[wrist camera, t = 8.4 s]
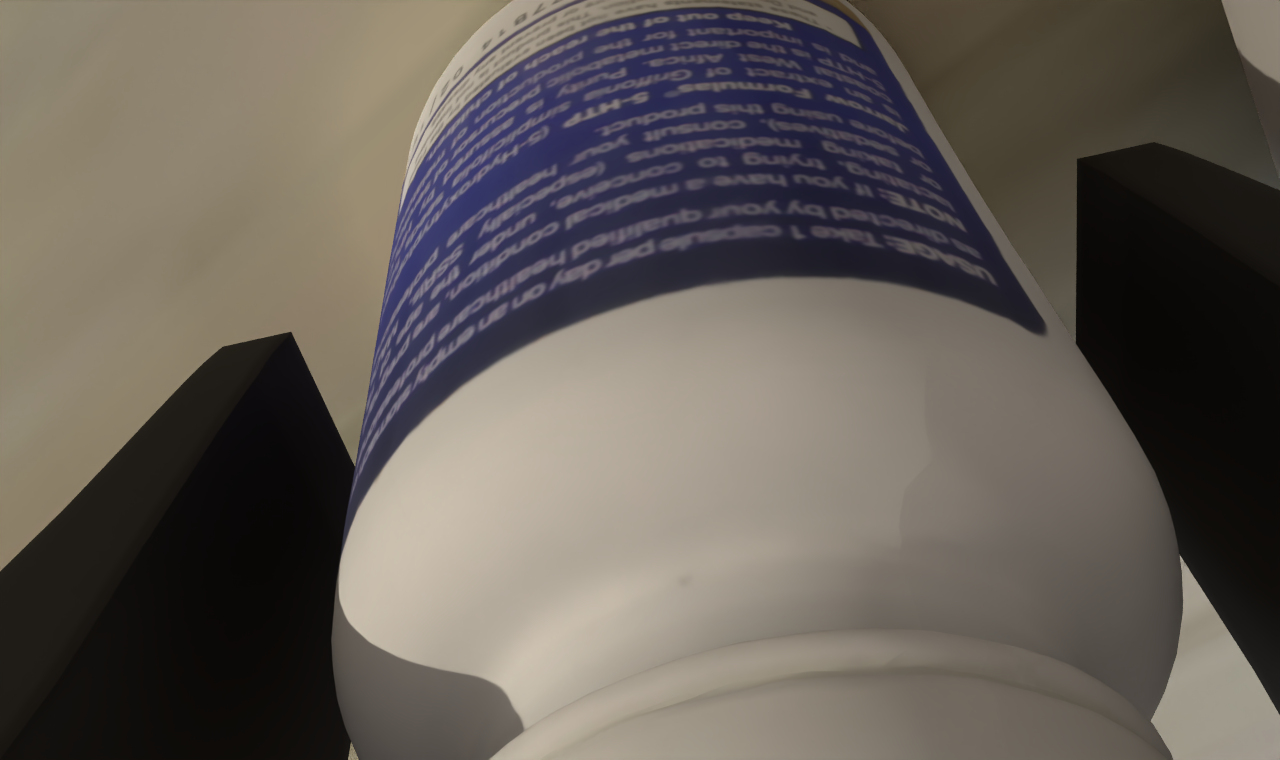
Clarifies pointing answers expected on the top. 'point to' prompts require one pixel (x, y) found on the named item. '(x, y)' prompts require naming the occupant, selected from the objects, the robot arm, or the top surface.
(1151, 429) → the robot arm
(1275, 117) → the book
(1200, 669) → the top surface
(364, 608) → the pill bottle
